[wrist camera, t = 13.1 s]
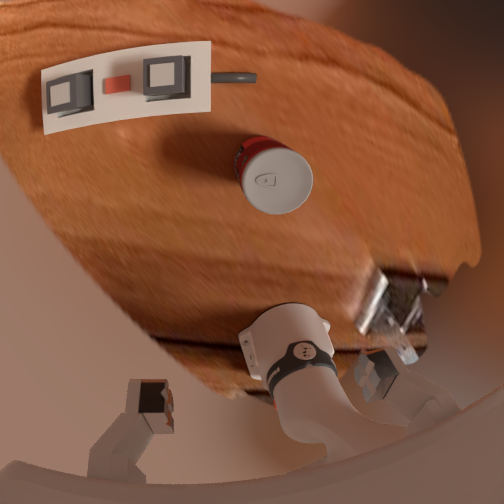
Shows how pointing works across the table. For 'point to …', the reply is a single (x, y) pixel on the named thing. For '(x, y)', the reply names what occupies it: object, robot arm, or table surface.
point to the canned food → (272, 175)
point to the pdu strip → (136, 95)
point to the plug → (164, 76)
